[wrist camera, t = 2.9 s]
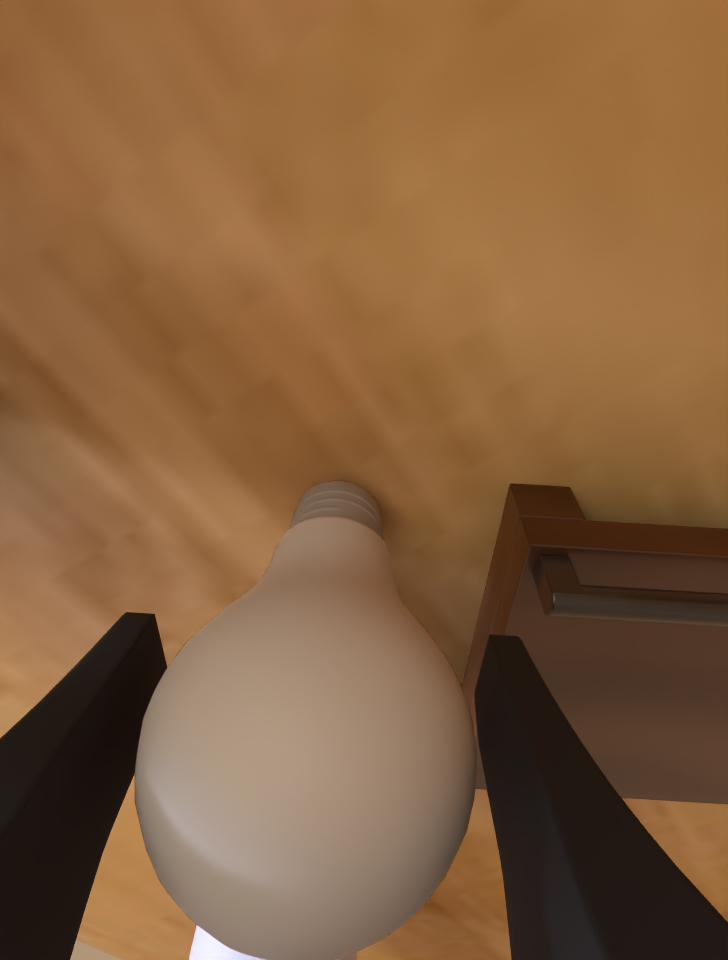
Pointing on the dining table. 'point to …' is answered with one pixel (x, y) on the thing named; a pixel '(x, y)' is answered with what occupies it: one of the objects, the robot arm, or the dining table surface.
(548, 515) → the shelf
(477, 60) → the dining table surface
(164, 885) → the lightbulb
